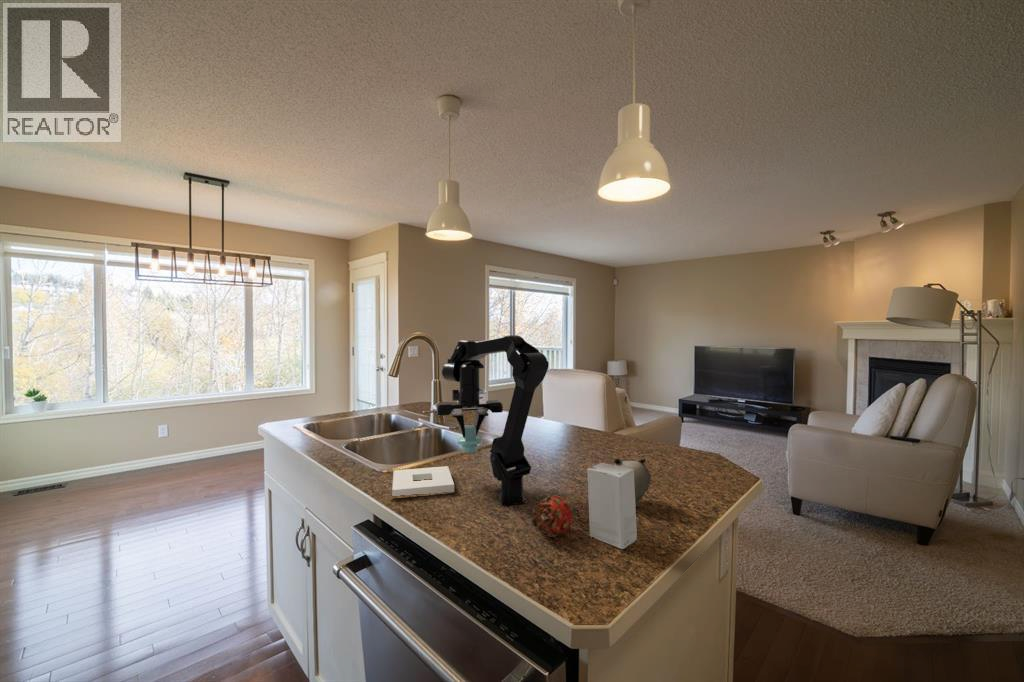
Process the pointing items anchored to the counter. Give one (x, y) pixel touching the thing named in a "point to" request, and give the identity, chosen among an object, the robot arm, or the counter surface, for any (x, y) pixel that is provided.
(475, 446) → the cap
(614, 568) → the counter surface
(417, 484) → the white slab
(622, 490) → the skincare box
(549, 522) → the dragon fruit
